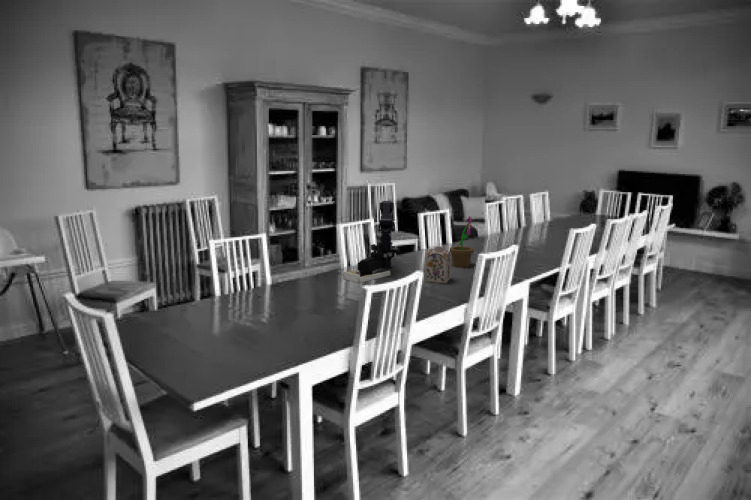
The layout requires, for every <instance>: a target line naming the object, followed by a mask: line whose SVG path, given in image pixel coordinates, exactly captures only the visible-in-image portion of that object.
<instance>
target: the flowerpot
mask: <svg viewBox="0 0 751 500" xmlns="http://www.w3.org/2000/svg"><path fill="white" fill-rule="evenodd" d="M467 218H468V219H467V223H466V226H465V228H464V230H463V231H462V233H461V238H460V241H459V242H458V245H455V246H454V245H453V246H450V247H449V251H450V253H451V265H452V267H454V268H460V269H461V268H464V269H465V268H470V265H471V261H472V260H471V259H472V254H474V251H475V250H474V248H473V247H470V246H464V245H463V243H464V242H463V241H464V240H467V238H469V237H470V236H471V230H472V228H473V226H472V220H473V219H472V216H470V215H468V217H467ZM465 232H466V233H465Z"/></svg>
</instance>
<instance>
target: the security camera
mask: <svg viewBox="0 0 751 500" xmlns="http://www.w3.org/2000/svg"><path fill="white" fill-rule="evenodd" d="M381 266H382V259H381V258H373V257H370V256H369V257H366V258H363V259H360V261H359V262H357V271H359V272H360V273H361V274H360V277H362V276H366V275H372V274H374V272H373V271H375V270H376V271H377V270H379V269H380V268H381Z"/></svg>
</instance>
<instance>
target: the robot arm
mask: <svg viewBox="0 0 751 500" xmlns="http://www.w3.org/2000/svg"><path fill="white" fill-rule="evenodd" d="M378 209H379V211H380V215H381V216H380V219H379V223H378V232H380V241H379V242H378V244H375V243H374V244H373V243H372V244H371V245H370V251H371V252H370V255H369V257H373V258H381V259H382V266H381V267H380V268H382V269H391V268H394V266H393V265H392V259H394V257H395V254H396V255H400V254H401V249H400V248H397V247H394V246H393V242H392V232H394V230H395V222H394V219H393V217H392V216H393V211H395V210H394V209H395V203H394V202H392V201H391V200H383V201H380V202H379V208H378Z"/></svg>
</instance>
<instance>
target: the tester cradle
mask: <svg viewBox="0 0 751 500" xmlns="http://www.w3.org/2000/svg"><path fill="white" fill-rule="evenodd" d="M376 271H377V270H375V271H373V274H372V275H366V276H362V277H360V274H361V273H360V272H359V270H350V269H349V270H348V271H345V270H344V271H342V280H346V281H350V282H353V283H357V284H360V283H366V282H368V281H373V280H377V279H381V278H384V277H385V278H386V277H390V276H391V270H386V271H383V272H382V271H381V272H378V273H376Z"/></svg>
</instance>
